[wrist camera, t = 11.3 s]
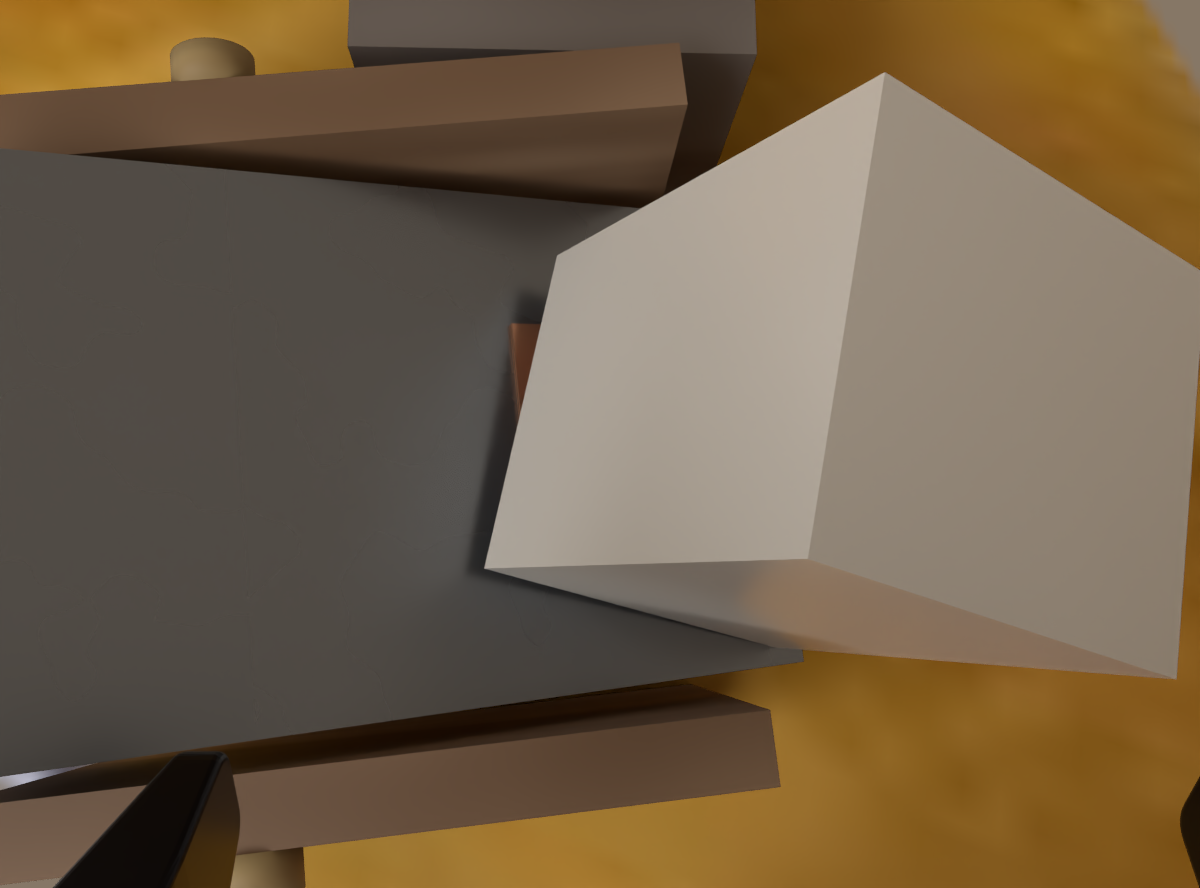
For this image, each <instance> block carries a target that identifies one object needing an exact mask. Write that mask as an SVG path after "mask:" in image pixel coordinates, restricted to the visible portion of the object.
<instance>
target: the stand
mask: <svg viewBox="0 0 1200 888" xmlns="http://www.w3.org/2000/svg"><path fill="white" fill-rule="evenodd" d="M669 43H679V44H680V51H681V58H682V66H683V73H684V81H685V88H686V95H687V103H688V105H687V109H686V113H685V117H684V120H683V124H682V128H681V132H680V135H679V139H678V143H677V147H676V150H675V154H674V158H673V162H672V165H671V169H670V173H669V177H668V180H667V184H666V188H665V192H664V195H666V194H668V193H670V192H672V191H673V190H675V189H677V188H679V187H681V186H682V185H684V184H686V183H688V182H689V181H691V180H693V179H695V178H697V177H698V176H700V175H702V174H704V173H706V172H707V171H709V170H711V169H713V168H714V167H716V166H717V163H718V160H719V157H720V155H721V152H722V149H723V146H724V144H725V141H726V138H727V135H728V133H729V130H730V127H731V124H732V122H733V119H734V116H735V113H736V110H737V108H738V105H739V102H740V99H741V97H742V94H743V91H744V88H745V86H746V83H747V80H748V77H749V75H750V72H751V69H752V66H753V64H754V61H755V58H756V55H757V44H756V17H755V0H349V22H348V49H349V52H350V55H351V58H352V61H353V64H354V67H355V68H357V67H370V66H383V65H396V64H409V63H422V62H435V61H448V60H461V59H474V58H487V57H500V56H513V55H526V54H539V53H552V52H565V51H578V50H591V49H604V48H617V47H630V46H643V45H656V44H669ZM664 195H663V196H664Z"/></svg>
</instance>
